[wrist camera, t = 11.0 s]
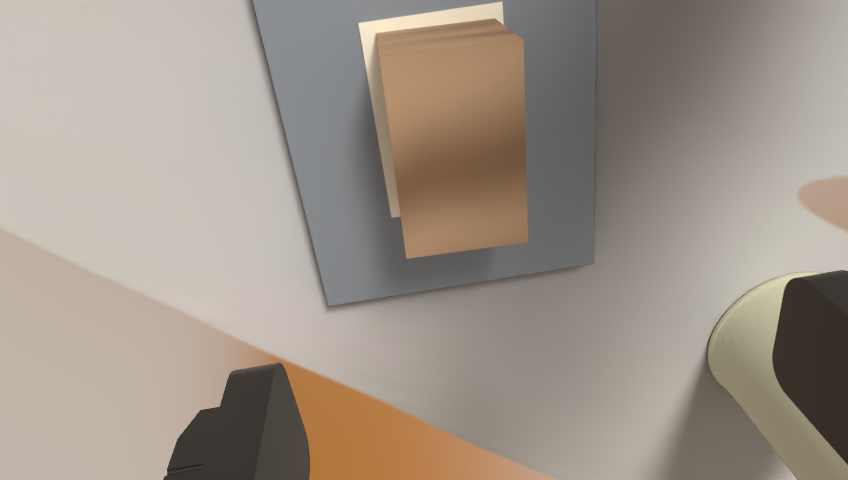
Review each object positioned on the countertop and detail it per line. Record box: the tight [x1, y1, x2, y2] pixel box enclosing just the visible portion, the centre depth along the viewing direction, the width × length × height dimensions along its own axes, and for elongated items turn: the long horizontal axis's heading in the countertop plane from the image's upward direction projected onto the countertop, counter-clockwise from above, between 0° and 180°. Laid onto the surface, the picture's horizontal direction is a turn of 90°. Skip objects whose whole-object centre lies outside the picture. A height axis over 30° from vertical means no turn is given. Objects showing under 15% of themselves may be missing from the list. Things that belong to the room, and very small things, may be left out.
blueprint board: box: [253, 0, 597, 306], centre depth 28 cm, size 18×14×1 cm
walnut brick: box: [376, 18, 528, 259], centre depth 25 cm, size 8×5×5 cm, turn 6°
